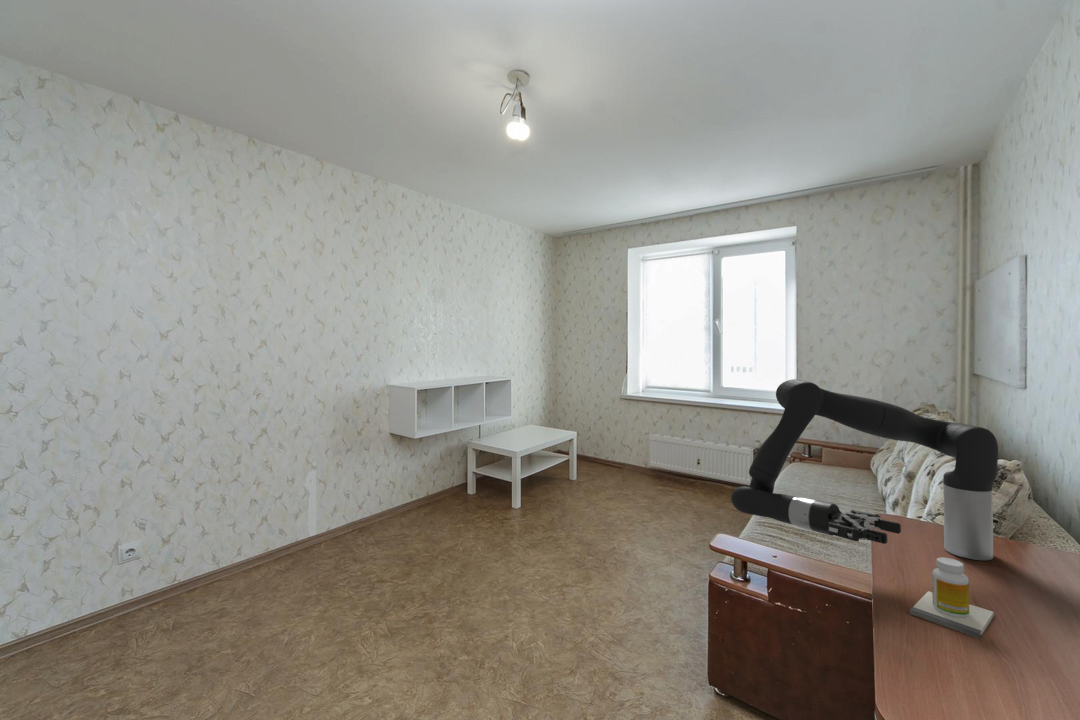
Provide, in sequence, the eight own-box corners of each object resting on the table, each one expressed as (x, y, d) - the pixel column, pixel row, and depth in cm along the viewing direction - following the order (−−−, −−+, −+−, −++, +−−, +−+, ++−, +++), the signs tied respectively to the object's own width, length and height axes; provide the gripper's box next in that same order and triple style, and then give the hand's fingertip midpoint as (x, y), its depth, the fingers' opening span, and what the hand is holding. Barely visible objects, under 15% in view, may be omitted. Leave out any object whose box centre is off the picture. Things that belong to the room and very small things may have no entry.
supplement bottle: (976, 619, 86) (976, 568, 86) (943, 616, 87) (943, 566, 87) (957, 604, 92) (956, 556, 92) (926, 602, 93) (925, 554, 93)
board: (928, 594, 97) (928, 590, 97) (993, 615, 89) (993, 611, 89) (910, 614, 90) (910, 609, 90) (979, 638, 82) (979, 633, 82)
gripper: (799, 506, 108) (881, 524, 95) (825, 494, 116) (903, 509, 103) (801, 537, 108) (883, 560, 95) (826, 523, 116) (905, 542, 103)
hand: (893, 533), depth 99 cm, fingers open, 8 cm apart
